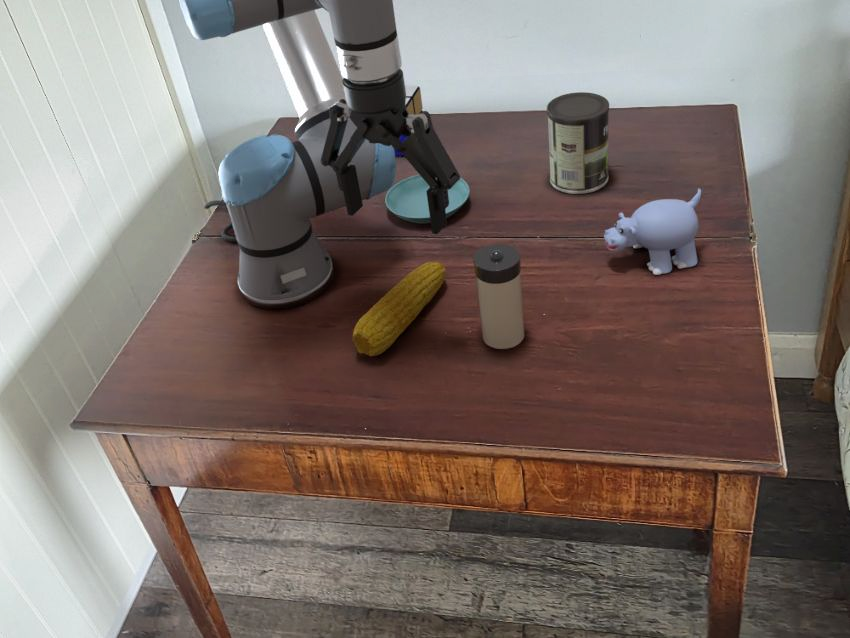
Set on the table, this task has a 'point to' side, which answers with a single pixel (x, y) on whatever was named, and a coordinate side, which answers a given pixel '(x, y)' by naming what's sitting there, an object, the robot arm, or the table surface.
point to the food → (397, 309)
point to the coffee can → (578, 142)
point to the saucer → (422, 199)
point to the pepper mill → (500, 295)
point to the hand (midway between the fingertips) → (396, 219)
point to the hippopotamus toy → (659, 233)
